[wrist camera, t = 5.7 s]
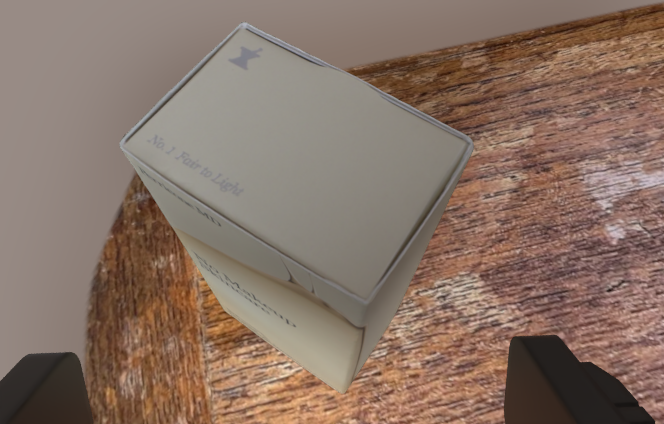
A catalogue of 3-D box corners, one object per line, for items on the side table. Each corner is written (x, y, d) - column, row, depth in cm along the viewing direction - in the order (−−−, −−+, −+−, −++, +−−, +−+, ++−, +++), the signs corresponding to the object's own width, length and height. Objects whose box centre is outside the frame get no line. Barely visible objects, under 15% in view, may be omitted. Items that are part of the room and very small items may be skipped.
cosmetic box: (222, 311, 21) (96, 144, 10) (285, 230, 22) (236, 11, 12) (348, 400, 19) (364, 318, 8) (407, 306, 21) (482, 134, 10)
